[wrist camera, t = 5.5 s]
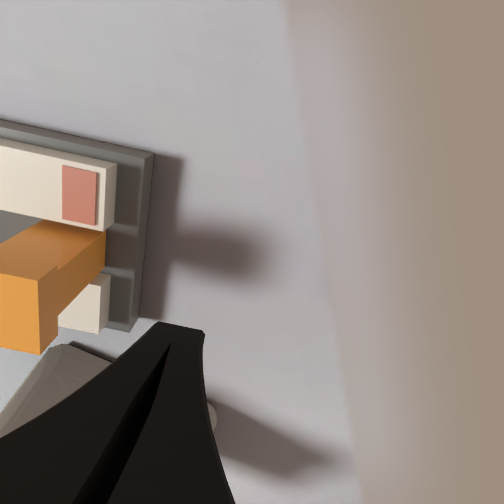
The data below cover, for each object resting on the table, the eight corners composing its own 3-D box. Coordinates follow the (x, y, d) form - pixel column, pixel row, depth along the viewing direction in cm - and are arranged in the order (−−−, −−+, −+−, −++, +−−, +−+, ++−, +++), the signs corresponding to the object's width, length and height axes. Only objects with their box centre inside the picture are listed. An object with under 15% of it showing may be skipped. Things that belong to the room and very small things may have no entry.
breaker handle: (108, 277, 16) (40, 355, 11) (42, 264, 16) (-53, 336, 11) (111, 220, 15) (37, 280, 10) (41, 205, 15) (-66, 259, 10)
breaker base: (138, 317, 18) (120, 348, 16) (-89, 270, 18) (-138, 295, 16) (154, 153, 15) (134, 164, 13) (-124, 91, 14) (-191, 92, 12)
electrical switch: (223, 404, 20) (174, 644, 12) (188, 452, 22) (128, 680, 14) (58, 333, 19) (-123, 548, 11) (40, 392, 21) (-119, 604, 13)
